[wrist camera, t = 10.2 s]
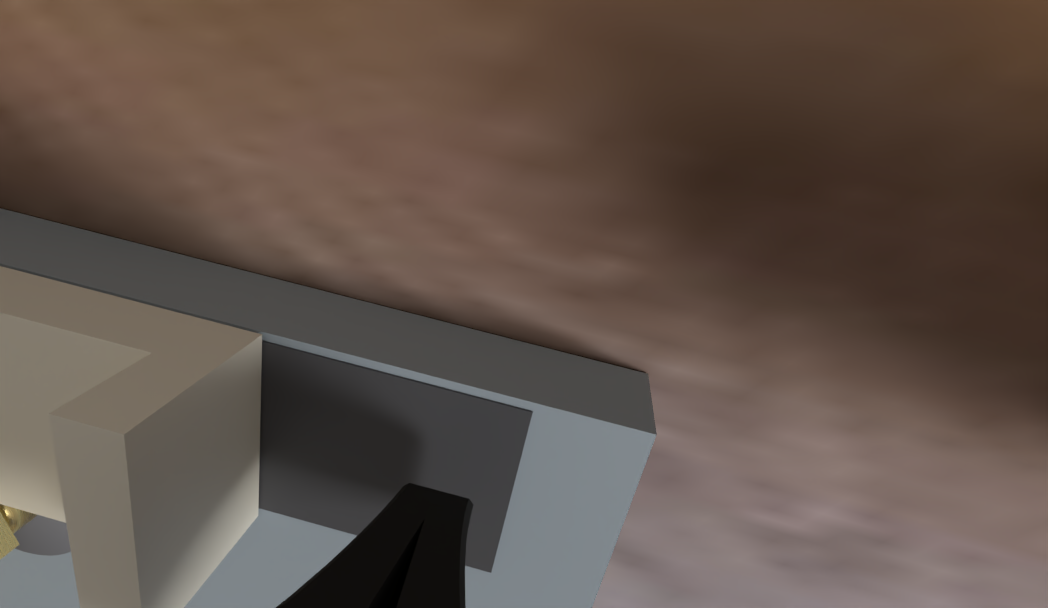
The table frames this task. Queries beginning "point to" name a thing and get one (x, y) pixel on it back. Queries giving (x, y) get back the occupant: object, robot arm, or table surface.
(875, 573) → the table surface
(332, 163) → the table surface
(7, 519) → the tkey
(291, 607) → the robot arm
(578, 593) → the grey flat rectangular board
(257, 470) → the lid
